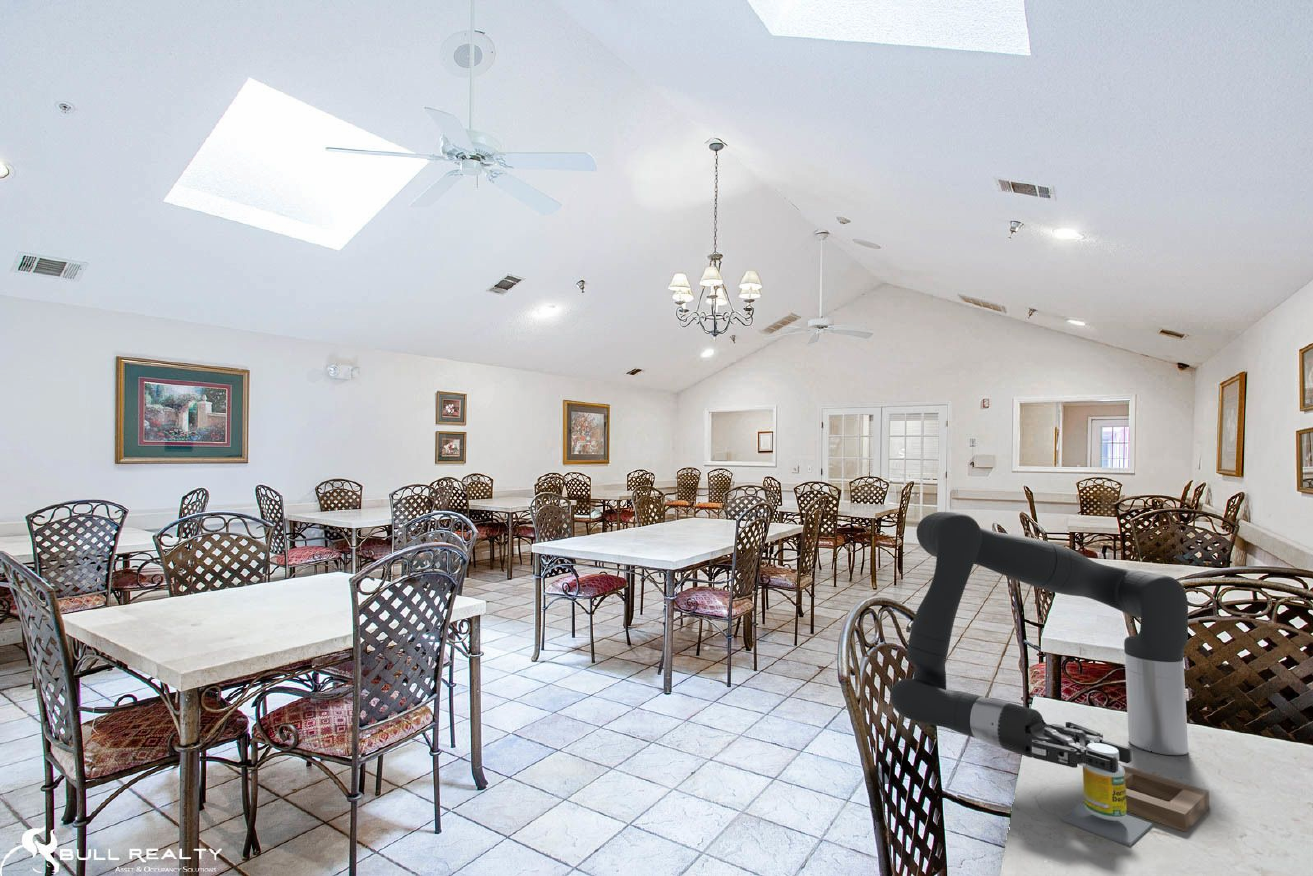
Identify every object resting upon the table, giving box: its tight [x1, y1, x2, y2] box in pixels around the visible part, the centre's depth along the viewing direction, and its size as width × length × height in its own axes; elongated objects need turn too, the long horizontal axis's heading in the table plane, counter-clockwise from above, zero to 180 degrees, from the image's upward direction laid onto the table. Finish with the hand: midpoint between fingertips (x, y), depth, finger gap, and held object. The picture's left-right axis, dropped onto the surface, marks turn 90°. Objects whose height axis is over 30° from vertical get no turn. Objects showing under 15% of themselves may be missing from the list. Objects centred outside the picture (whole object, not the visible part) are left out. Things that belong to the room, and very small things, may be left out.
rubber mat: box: [1060, 800, 1153, 848], centre depth 99 cm, size 9×9×1 cm
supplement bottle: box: [1082, 742, 1128, 821], centre depth 99 cm, size 5×5×10 cm
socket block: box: [1121, 764, 1211, 833], centre depth 105 cm, size 12×12×2 cm
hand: (1123, 760), depth 98 cm, fingers closed on supplement bottle, 4 cm apart
